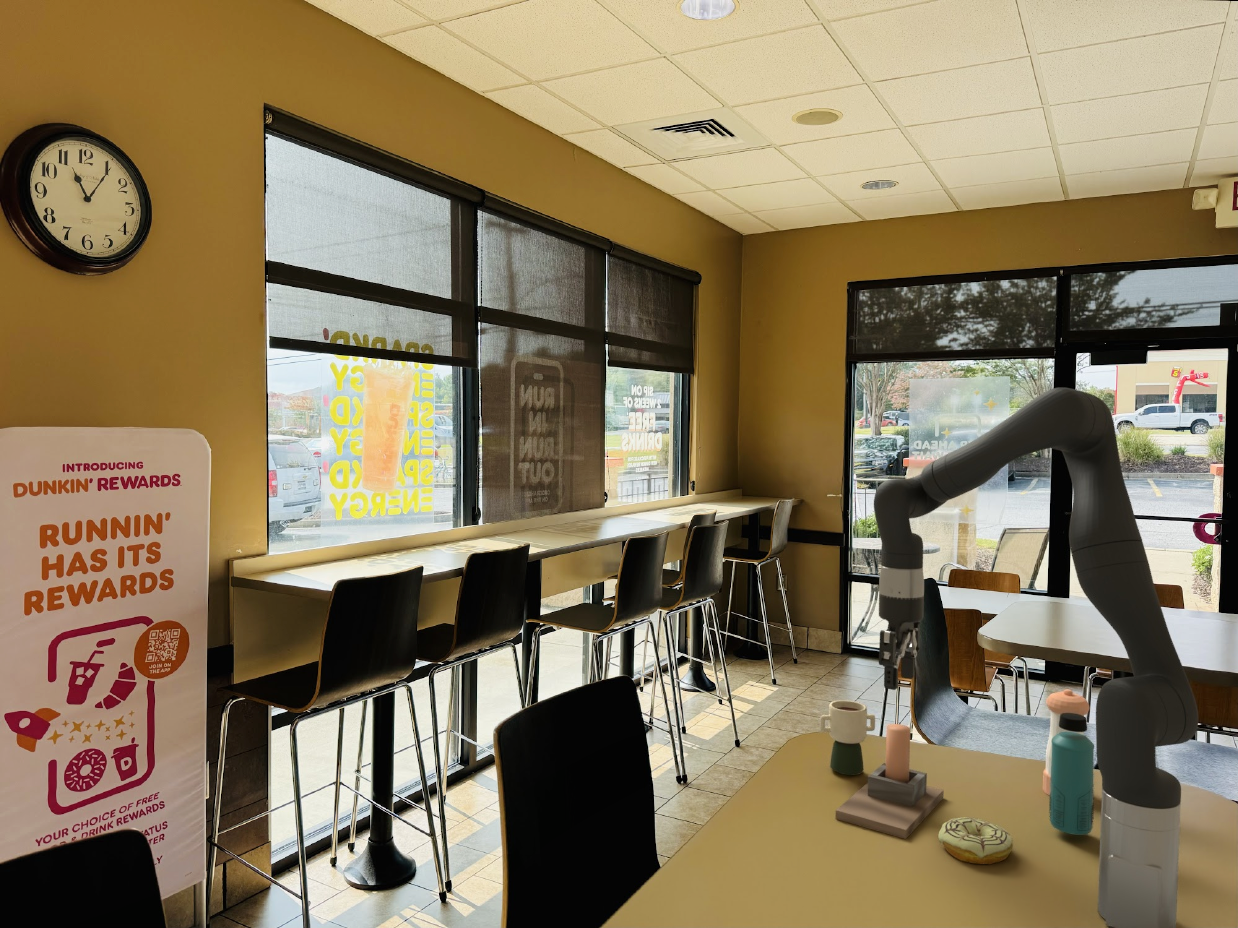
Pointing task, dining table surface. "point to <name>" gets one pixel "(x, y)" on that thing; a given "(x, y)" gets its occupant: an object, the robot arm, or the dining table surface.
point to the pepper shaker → (1058, 705)
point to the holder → (891, 803)
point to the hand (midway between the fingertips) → (899, 683)
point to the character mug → (847, 734)
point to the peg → (897, 752)
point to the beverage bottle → (1072, 777)
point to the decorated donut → (975, 840)
